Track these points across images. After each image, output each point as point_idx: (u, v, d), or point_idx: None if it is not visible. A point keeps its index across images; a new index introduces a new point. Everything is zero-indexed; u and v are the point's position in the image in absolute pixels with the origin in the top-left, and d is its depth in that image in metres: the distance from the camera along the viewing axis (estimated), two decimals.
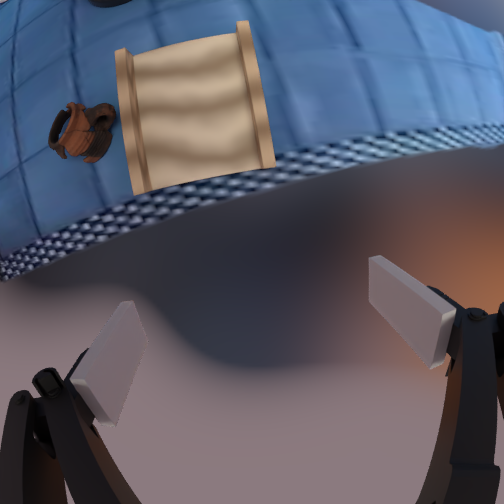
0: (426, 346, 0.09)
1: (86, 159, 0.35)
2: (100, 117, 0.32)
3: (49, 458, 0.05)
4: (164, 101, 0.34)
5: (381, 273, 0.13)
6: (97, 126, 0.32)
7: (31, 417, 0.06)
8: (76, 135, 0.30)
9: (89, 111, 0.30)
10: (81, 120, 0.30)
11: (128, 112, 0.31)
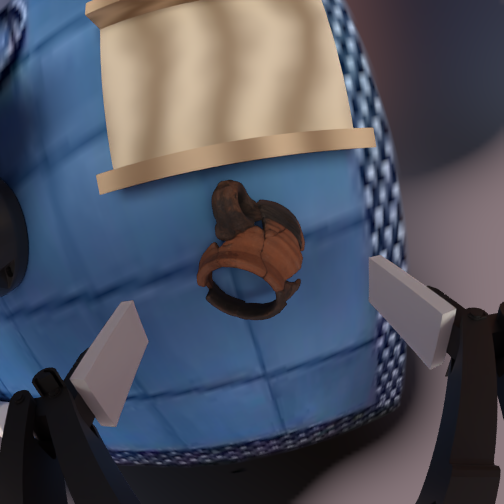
0: (426, 346, 0.09)
1: (302, 243, 0.25)
2: None
3: (49, 458, 0.05)
4: (208, 104, 0.21)
5: (381, 273, 0.13)
6: (253, 215, 0.22)
7: (31, 417, 0.06)
8: (271, 252, 0.20)
9: (224, 229, 0.20)
10: (242, 244, 0.20)
11: (231, 147, 0.19)
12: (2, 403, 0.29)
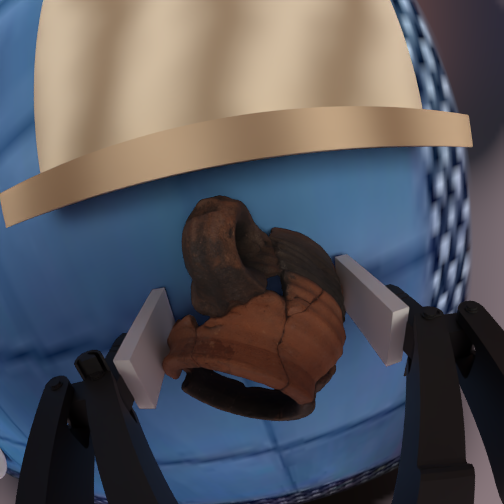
0: (382, 343, 0.10)
1: None
2: None
3: (81, 447, 0.06)
4: (190, 62, 0.11)
5: (344, 272, 0.14)
6: (264, 265, 0.11)
7: (67, 405, 0.07)
8: (298, 343, 0.10)
9: (208, 298, 0.10)
10: (241, 328, 0.10)
11: (230, 128, 0.09)
12: None
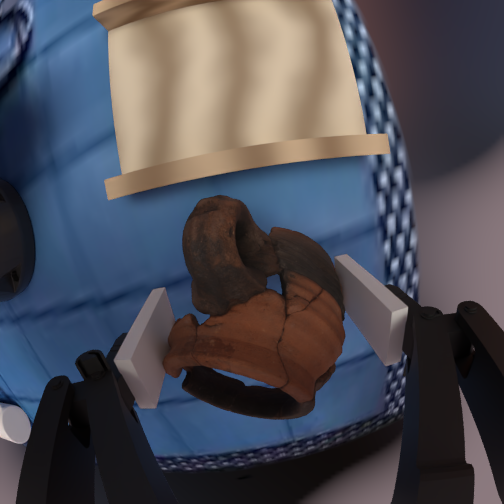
0: (381, 343, 0.10)
1: None
2: None
3: (81, 447, 0.06)
4: (219, 108, 0.21)
5: (344, 272, 0.14)
6: (264, 264, 0.11)
7: (68, 404, 0.07)
8: (298, 342, 0.10)
9: (208, 296, 0.10)
10: (242, 327, 0.10)
11: (243, 152, 0.19)
12: (6, 405, 0.29)
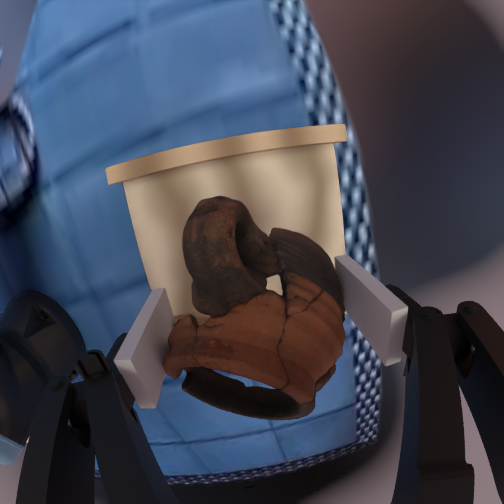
0: (381, 343, 0.10)
1: None
2: None
3: (81, 447, 0.06)
4: None
5: (344, 272, 0.14)
6: (264, 265, 0.11)
7: (68, 404, 0.07)
8: (298, 343, 0.10)
9: (208, 297, 0.10)
10: (242, 328, 0.10)
11: None
12: None
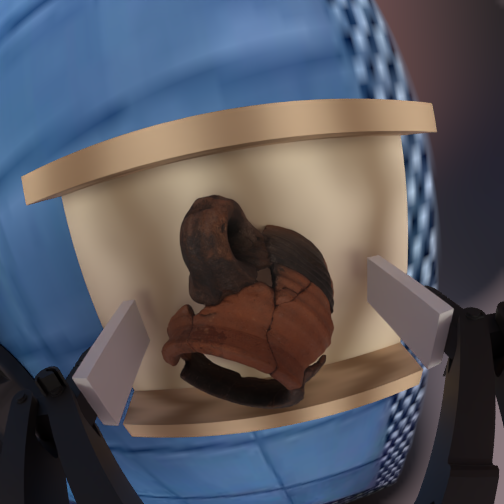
0: (423, 346, 0.09)
1: None
2: None
3: (51, 457, 0.06)
4: None
5: (379, 273, 0.13)
6: (256, 259, 0.12)
7: (33, 416, 0.06)
8: (286, 331, 0.11)
9: (203, 288, 0.11)
10: (233, 316, 0.11)
11: (271, 418, 0.16)
12: None
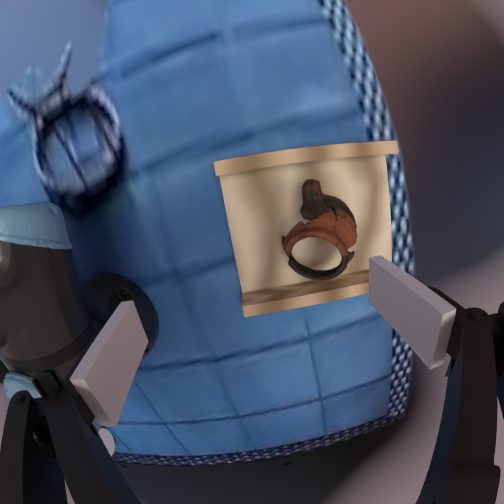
0: (426, 346, 0.09)
1: None
2: None
3: (49, 458, 0.05)
4: (307, 253, 0.36)
5: (381, 273, 0.13)
6: (326, 204, 0.31)
7: (31, 417, 0.06)
8: (340, 229, 0.29)
9: (310, 212, 0.29)
10: (321, 222, 0.29)
11: (326, 293, 0.34)
12: None
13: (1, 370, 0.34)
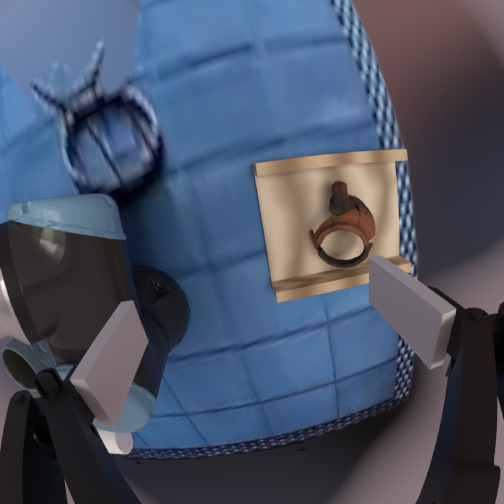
0: (426, 346, 0.09)
1: None
2: None
3: (49, 458, 0.05)
4: (329, 245, 0.41)
5: (381, 274, 0.13)
6: (351, 202, 0.35)
7: (31, 417, 0.06)
8: (363, 223, 0.34)
9: (339, 209, 0.34)
10: (348, 218, 0.34)
11: (347, 280, 0.39)
12: None
13: (19, 369, 0.36)
